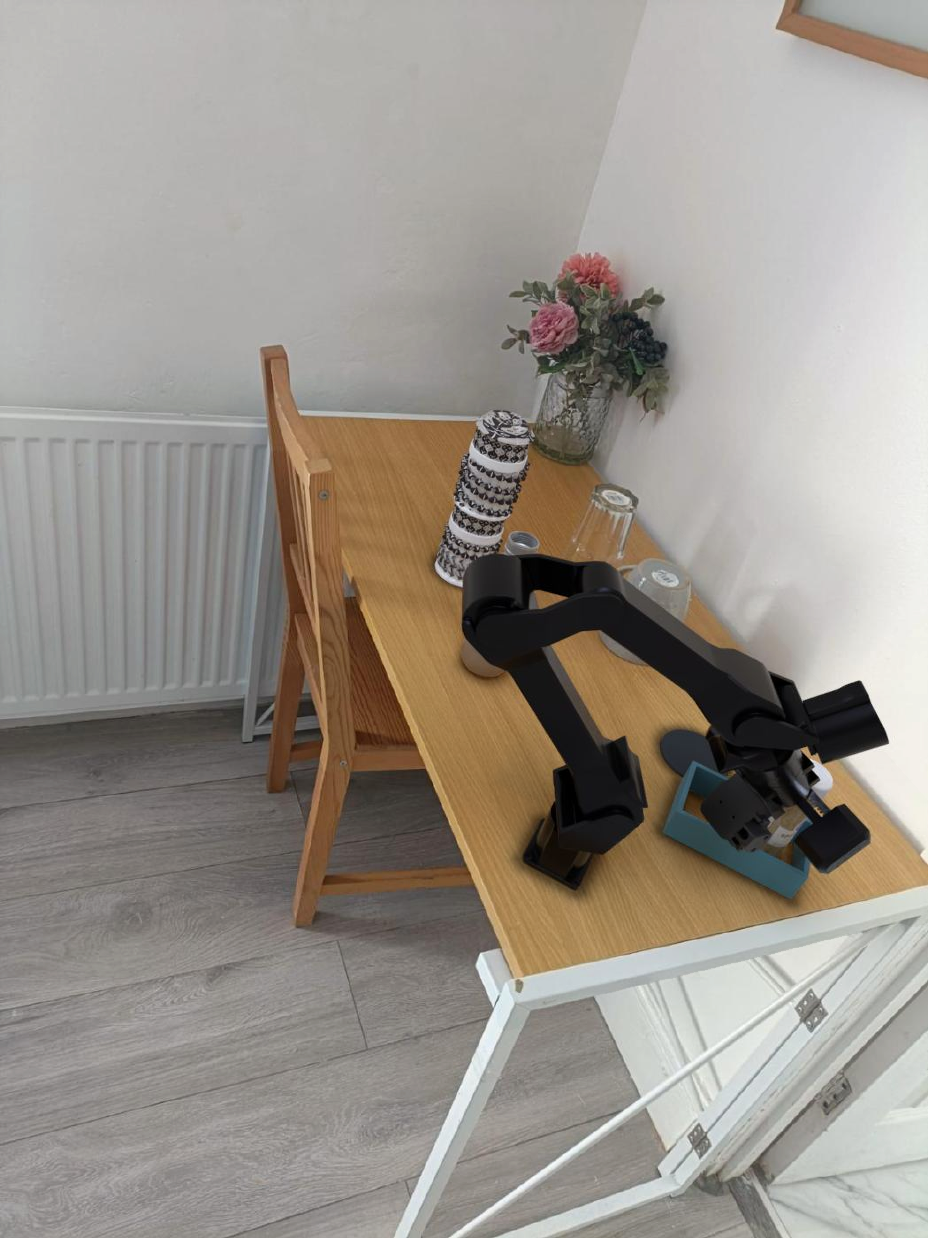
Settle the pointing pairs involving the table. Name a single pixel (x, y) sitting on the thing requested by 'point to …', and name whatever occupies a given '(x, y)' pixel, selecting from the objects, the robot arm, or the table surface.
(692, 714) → the table surface
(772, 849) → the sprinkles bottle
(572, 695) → the robot arm
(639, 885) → the table surface
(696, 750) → the coaster
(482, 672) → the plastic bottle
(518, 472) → the white patterned cylinder
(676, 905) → the table surface
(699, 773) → the blue open rectangular frame
